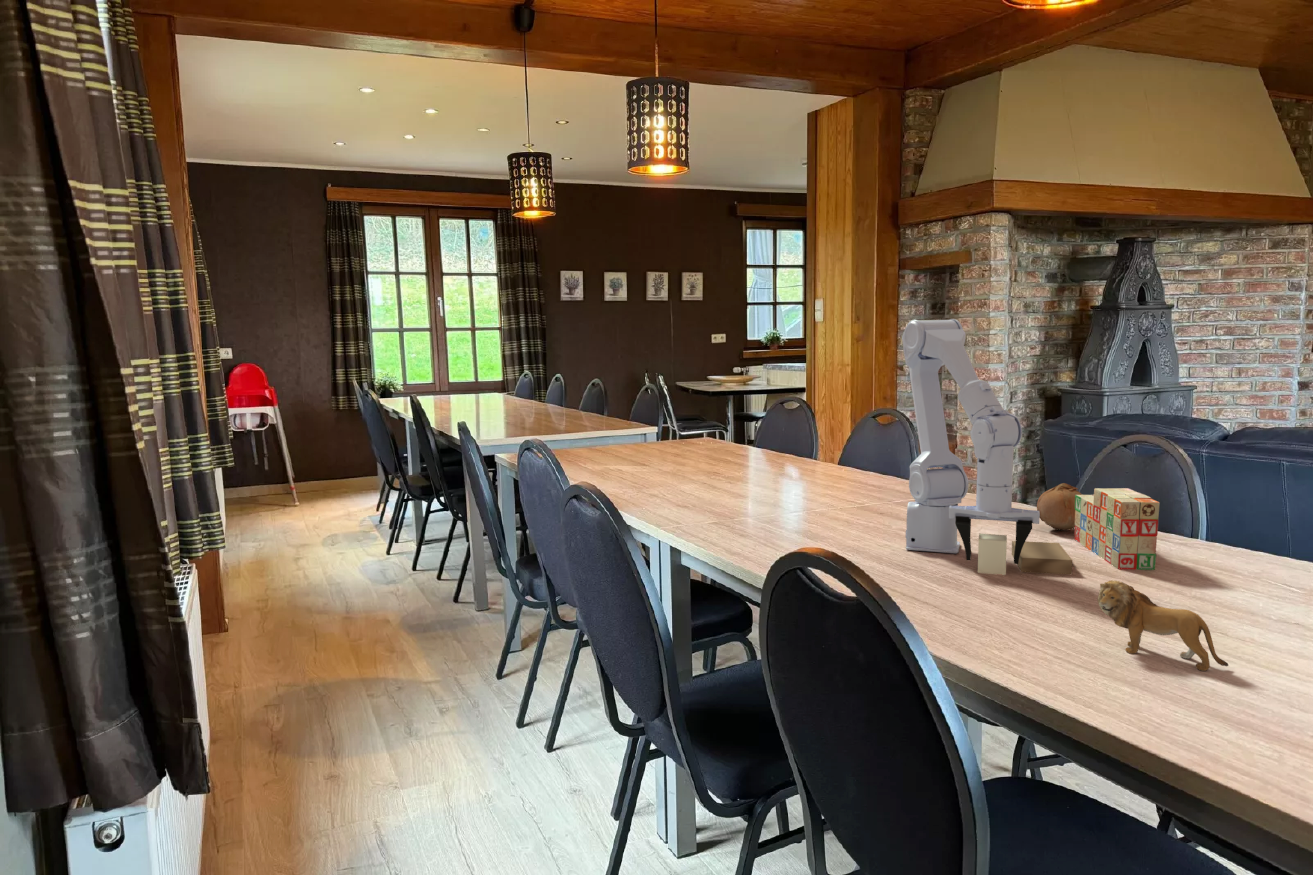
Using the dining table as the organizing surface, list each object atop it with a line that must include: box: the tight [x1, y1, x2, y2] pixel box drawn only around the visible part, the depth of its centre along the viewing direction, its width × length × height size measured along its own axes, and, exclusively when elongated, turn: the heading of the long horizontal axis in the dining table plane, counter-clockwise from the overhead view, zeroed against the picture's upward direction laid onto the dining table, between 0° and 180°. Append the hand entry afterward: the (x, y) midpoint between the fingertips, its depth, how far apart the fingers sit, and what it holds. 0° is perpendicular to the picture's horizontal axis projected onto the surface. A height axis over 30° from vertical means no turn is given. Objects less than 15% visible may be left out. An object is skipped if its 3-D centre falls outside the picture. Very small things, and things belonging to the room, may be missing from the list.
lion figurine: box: [1097, 579, 1229, 672], centre depth 106 cm, size 15×5×9 cm, turn 50°
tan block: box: [1011, 540, 1073, 576], centre depth 149 cm, size 8×12×3 cm, turn 164°
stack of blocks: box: [1074, 487, 1160, 571], centre depth 154 cm, size 21×6×12 cm, turn 173°
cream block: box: [977, 533, 1008, 576], centre depth 145 cm, size 4×4×6 cm
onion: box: [1036, 482, 1083, 532], centre depth 172 cm, size 10×9×10 cm
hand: (992, 560), depth 145 cm, fingers open, 7 cm apart
